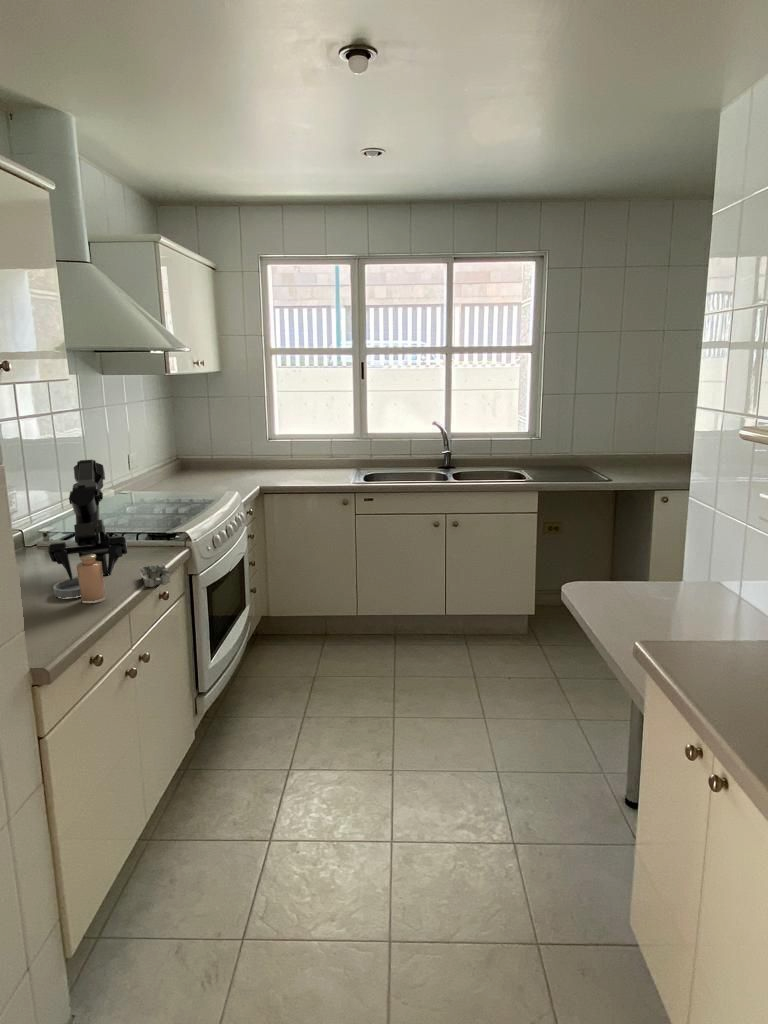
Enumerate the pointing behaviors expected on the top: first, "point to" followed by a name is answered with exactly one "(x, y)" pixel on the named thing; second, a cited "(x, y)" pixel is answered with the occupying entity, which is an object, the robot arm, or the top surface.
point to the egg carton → (155, 575)
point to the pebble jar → (90, 578)
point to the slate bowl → (67, 588)
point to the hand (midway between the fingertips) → (90, 577)
